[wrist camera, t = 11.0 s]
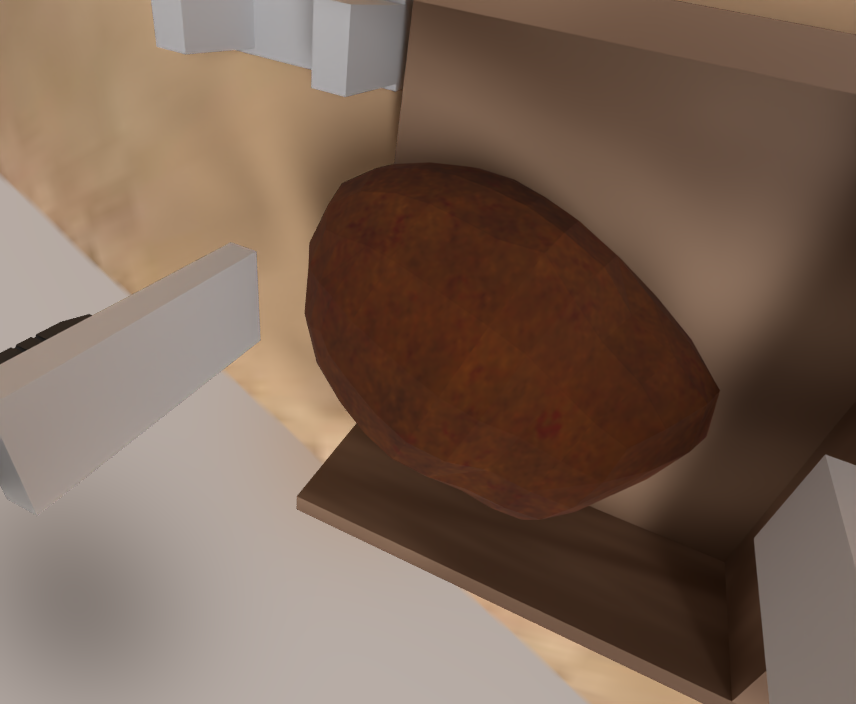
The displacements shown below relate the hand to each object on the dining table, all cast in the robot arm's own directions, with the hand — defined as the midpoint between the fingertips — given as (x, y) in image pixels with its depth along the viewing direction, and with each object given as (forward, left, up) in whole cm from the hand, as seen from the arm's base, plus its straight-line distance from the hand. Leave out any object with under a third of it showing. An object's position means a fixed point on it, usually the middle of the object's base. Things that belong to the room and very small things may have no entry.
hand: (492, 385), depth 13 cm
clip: (-6, -9, -7) cm, 13 cm away
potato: (0, 0, -6) cm, 6 cm away
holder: (0, +2, -7) cm, 7 cm away
